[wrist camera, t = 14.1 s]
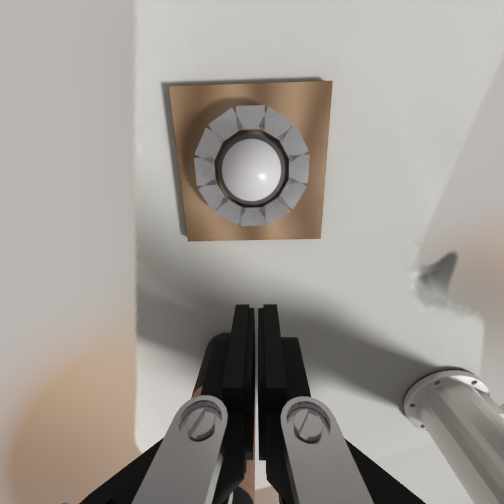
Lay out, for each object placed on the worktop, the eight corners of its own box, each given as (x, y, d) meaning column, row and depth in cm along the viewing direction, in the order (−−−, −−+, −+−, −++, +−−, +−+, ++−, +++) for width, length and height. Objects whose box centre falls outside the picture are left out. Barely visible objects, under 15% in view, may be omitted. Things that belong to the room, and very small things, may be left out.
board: (328, 84, 25) (332, 80, 24) (318, 235, 30) (320, 238, 29) (172, 89, 25) (168, 86, 24) (190, 238, 31) (187, 241, 29)
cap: (281, 138, 25) (287, 132, 20) (279, 197, 27) (284, 205, 22) (224, 139, 25) (215, 133, 20) (226, 197, 28) (219, 205, 22)
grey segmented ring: (307, 108, 24) (312, 103, 22) (302, 220, 28) (305, 224, 26) (194, 111, 25) (188, 107, 23) (204, 222, 29) (200, 227, 27)
